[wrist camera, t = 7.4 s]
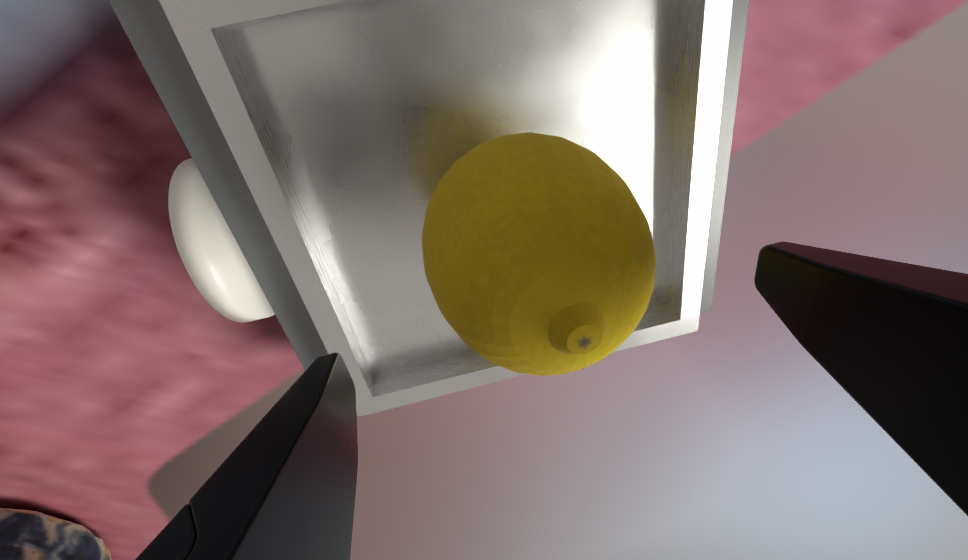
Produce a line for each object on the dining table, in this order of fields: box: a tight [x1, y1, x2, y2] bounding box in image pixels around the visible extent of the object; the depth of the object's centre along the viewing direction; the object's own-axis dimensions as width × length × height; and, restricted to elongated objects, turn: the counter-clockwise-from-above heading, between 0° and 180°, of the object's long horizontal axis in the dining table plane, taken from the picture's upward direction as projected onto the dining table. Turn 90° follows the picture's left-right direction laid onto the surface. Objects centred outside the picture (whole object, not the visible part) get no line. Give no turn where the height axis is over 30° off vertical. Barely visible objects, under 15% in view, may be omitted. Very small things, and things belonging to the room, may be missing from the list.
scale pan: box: [159, 0, 733, 416], centre depth 15 cm, size 14×14×2 cm
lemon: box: [422, 132, 656, 376], centre depth 11 cm, size 6×6×8 cm
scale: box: [108, 0, 749, 370], centre depth 16 cm, size 19×16×6 cm
